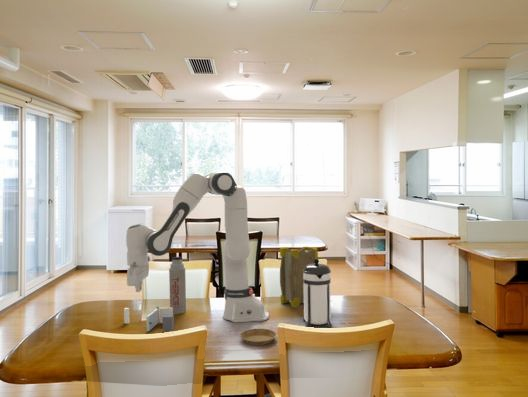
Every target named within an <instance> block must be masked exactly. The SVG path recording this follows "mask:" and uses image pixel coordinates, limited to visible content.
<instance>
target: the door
mask: <svg viewBox="0 0 528 397" xmlns="http://www.w3.org/2000/svg"><path fill="white" fill-rule="evenodd" d="M145 318H146V321H145V322H146V331H147V332H149V331H151V330H152V329H153V328H155V326H157V325H158V324H160V316H159V317H158V309H157V308H156V309H154V310H153V311H152V312H150V313H149V314H147V316H146V317H145Z"/></svg>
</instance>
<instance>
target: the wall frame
mask: <svg viewBox="0 0 528 397" xmlns="http://www.w3.org/2000/svg"><path fill="white" fill-rule="evenodd" d="M156 309H158V317H159V324H163V316H164V315H165V314H173V309H172V307H170V306H168V307H159V306H156ZM123 316H124V317H123V318H124V319H123V320H124V321H123V322H124V324H130V308H129V307H124V309H123Z"/></svg>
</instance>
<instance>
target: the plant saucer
mask: <svg viewBox="0 0 528 397" xmlns="http://www.w3.org/2000/svg"><path fill="white" fill-rule="evenodd" d="M276 336H277V333H276V332H275V331H274V330H271V329H266V328H251V329H248V330H244V331H242V332H241V333H240V336H239V337H240V338H241V339H242V341H244V342H245V343H246V344H248V345H250V346H251V345H252V346H263V345H264V346H265V345H268V344H270V343H271V342H272V341H273V340H274V339H275V338H276Z"/></svg>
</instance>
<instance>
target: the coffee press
mask: <svg viewBox="0 0 528 397" xmlns="http://www.w3.org/2000/svg"><path fill="white" fill-rule="evenodd" d="M314 263H315V264H308V265H306V266H305V267H304V269H303V277H304V278H303V283H304V303H303V318H302V321H303V322H305V323H306V327H307V326H308V327H311V328H312V326H313V325H326V326H327V328H331V327H332V326H333V324H332V323H331V282H332V281H331V273H332V272H331V271H332V270H331V269H330V267H329V266H328V264H324V263H320V260H319V258H318V259H315V260H314Z"/></svg>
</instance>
